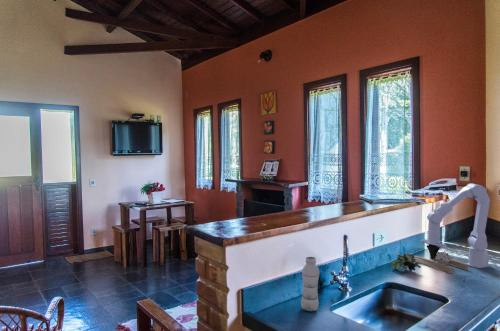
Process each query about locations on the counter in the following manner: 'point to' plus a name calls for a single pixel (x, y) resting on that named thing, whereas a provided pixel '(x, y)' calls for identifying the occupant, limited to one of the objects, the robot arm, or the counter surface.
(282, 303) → the counter surface
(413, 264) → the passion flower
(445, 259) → the beige textured ball
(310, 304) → the plastic bottle
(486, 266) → the robot arm
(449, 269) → the chute
